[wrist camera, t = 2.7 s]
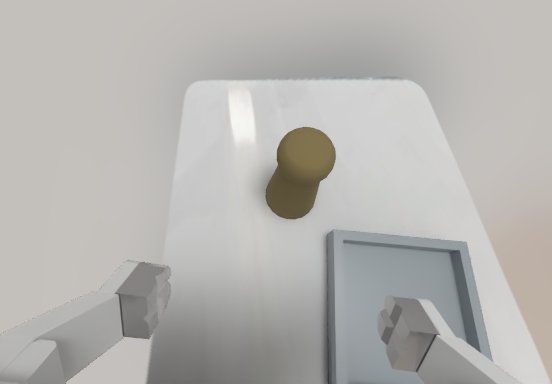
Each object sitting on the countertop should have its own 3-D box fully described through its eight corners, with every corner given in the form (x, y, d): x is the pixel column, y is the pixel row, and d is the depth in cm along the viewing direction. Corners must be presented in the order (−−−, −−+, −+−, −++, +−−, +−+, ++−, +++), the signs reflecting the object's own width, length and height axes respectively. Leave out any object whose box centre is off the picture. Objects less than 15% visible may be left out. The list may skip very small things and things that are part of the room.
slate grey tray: (480, 401, 25) (503, 410, 23) (328, 393, 24) (336, 402, 22) (450, 246, 31) (466, 242, 29) (327, 235, 30) (333, 229, 28)
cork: (255, 193, 32) (258, 141, 22) (290, 164, 34) (308, 104, 24) (290, 229, 30) (311, 192, 20) (324, 197, 32) (359, 149, 22)
